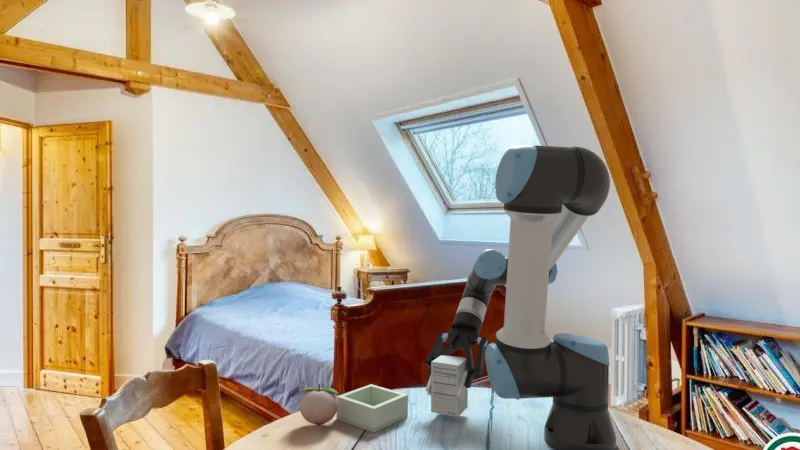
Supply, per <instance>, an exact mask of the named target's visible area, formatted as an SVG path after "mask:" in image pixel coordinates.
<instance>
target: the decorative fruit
mask: <svg viewBox="0 0 800 450" xmlns="http://www.w3.org/2000/svg"><path fill="white" fill-rule="evenodd" d="M303 392H304V393H303ZM301 393H303V394H302V395H301V397H300V400H299V411H300V414H301V416H302V417H303V419H305V421H306V422H308V423H310V424H313V425H314V426H315V425H316V426H317V427H320V426H322V425H325V424H326V423H329V422H331V420H332V419H333V418H334V417H335V416H336V415H337V410H338V398H337V396H339V395H340V393H339V392H338V391H337V390H336V389H334V388H333V387H321V383H318V387H315V386H308V387H305V388H303V389H302V390H300V391H299V394H301Z"/></svg>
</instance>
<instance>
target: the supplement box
mask: <svg viewBox="0 0 800 450" xmlns="http://www.w3.org/2000/svg"><path fill="white" fill-rule="evenodd" d="M464 371H465V372H467V373H468V370H467V360H466V357H462V356H453V355H450V356H446V355H441V356H439V357H438V358H436V359H435V360H433V361H432V362H431V396H430V411H431V413H434V414H439V415H445V416H450V417H456V418H459V417H460V416H461V415H462V414H463V413H464V411H466V410H467V408H468V407H469V406H468V404H469V403H468V401H469V400H468V399H469V396H468V389H469V388H467V389H466V392H465V395H464V399H463V402H462V401H459V399H458V397H457V393H458V390H459V386H460V383H461V380H462V377H463V373H464Z"/></svg>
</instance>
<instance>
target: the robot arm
mask: <svg viewBox="0 0 800 450" xmlns="http://www.w3.org/2000/svg"><path fill="white" fill-rule="evenodd" d="M494 184H495V185H494V188H495V196H496V199H497V200H498V201H499V202H500V203H501V204H503V212H505V213H506V215H508V217H509V218H510V220H509V221H510V223H509V225H510V226H509V237H508V239H509V241H508V255H507V256H505V255H504V254H503V253H502V252H501V251H498V250H495V249H494V248H493V249H492V248H491V249H490V248H489V249H488V248H487V249H485V250H482V251H481V252H480V253H479V255H478V256H477V258H476V260H475V262H474V264H473V267H472V270H471V272H469V273H470V274H469V275H468V278H467V280H466V284H465V286H464V289H463V294H462V297H461V299H460V300H459V301H460V302H459V304H458V307H457V310H456V311H455V312H456V313H455V316H454V318H453V321H452V324H451V328H450V330H449V331H448V332H444V333H443V332H442V331H438V332H437V337H436V339H435V342H434V343H433V345H432V347H431V349H430V351H429V352H428V354H427V357H426V358H425V360H424V363H425V364H426V366H427V367H428V368H429V369H428V373H427V376H426V378H427V380H428V381H427V384H426V388H425V392H426V393H427V395H428V396H430V397H431V362H432V361H433V360H435V359H436V358H438V357H439V356H441V355H446V356H451V354H452V353H454V352H456V350H458V351H459V350H461V351H463V352H465V358H466V360H467V370H468V373H467V372H465V371H464V373H463V377H462V380H461V383H460V386H459V390H458V393H457V397H458V399H459V401H462V402H463V399H464V395H465V392H466V389H467V388H468V389H470V388H471V386H472V384H473V381H474V378H475V377H476V376H479V377H481V376H483V371H484V366H486V367H485V368H486V372H487V377H488V380H489V383H490V385H491V388H492V389H493V391H494V393H495V394H496V395H497V396H498V397H499V398H501V399H506V400H507V399H509V400H511V399H514V400H518V401H519V400H521V399H540V398H552V404H551V407H550V410H549V413H548V416H547V419H546V421H545V424H544V428H543V430H544V431H543V433H544V434H543V435H544V436H543V437H544V438H543V439H544V441H545V442H546V443H547V444H548V445H549V446H551V447H552V448H554V449H556V450H616V449H617V434H616V431H615V428H614V424H613V421H612V418H611V415H610V412H609V388H610V387H609V384H610V383H609V379H610V377H609V376H610V365H611V362H610V355H609V348H608V346H607V345H606V344H605V343H604V342H602V341H600V340H598V339H595V338H592V337H588V336H584V335H583V336H582V335H579V334H572V333H563V332H561V333H555V334H554V335H553V337H552V339H551V336H550V335H549V334H548V333H547V332H546V317H547V306H548V305H547V303H548V291H549V290H548V289H549V285H551V284H553V283H554V282H555V281H556V278H557V275H558V266H557V261H559V259H560V258H561V256H562V255H563V253H564V252H565V250H566V249H567V248H568V246H569V245H570V244H571V242H572V241H573V239H574V238H575V236H576V235H577V234H578V232H579V230H581V228H582V227H583V225H584V224H585V223H586V221H587V220H588V218H589V217H593V216H594V215H596V214H597V213H598V212H599V211H601V208H602V207H603V206H604V204H605V203H606V201H607V198H608V195H609V193H610V187H611V180H610V173H609V170H608V167H607V165H606V164H605V162H604V160H603V159H602V158H601V157H600V156H599V155H598V154H597V153H595V152H594V151H592V150H590V149H589V148H585V147H581V146H552V145H536V144H535V145H534V144H529V145H514V146H511V147H510V148H508V149H507V150H506V151H505V152H504V154H503V155H502V157H501V159H500V161H499V164H498V166H497V169H496V174H495V183H494ZM497 286H505V303H504V319H503V327H501V328H499V330H497V331H496V333H495V342H491V343H489V342H488V339H487V337H486V336H482V337H480V336H479V335H480V333H481V330H482V327H483V322H484V320H485V316H486V313H487V309H488V306H489V304H490V301H491V297H492V295H493V293H494V290H495V289H496V287H497ZM447 340H448V341H447ZM445 343H446V344H445ZM444 344H445V346H444ZM476 344H478V345H477V353H476V361H475V365H474V358H473V357H474V356H473V347H474V345H476ZM443 346H444V347H443ZM484 364H485V365H484Z"/></svg>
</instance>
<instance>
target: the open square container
mask: <svg viewBox="0 0 800 450" xmlns="http://www.w3.org/2000/svg"><path fill="white" fill-rule="evenodd" d="M337 398H338V410H337V412H336V420H338V421H341V422H344V423H346V424H350V425H352V426H356V427H358V428H360V429H362V430H366V431H369V432H371V433H376V432H379V431H380V430H383V429H385V428H387V427H389V426H391V425H394V424H395V423H397V422H400V421H403V420H404V419H406V418H409V417H408V416H409V410H408V409H409V407H408V406H409V404H408V403H409V394H406V393H403V392H399V391H395V390H393V389H390V388H386V387H382V386H378V385H375V384H372V383H370V384H368V385H365V386H363V387H359V388H356V389H354V390H351V391H347V392H345V393H343V394H339V395H337Z"/></svg>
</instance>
